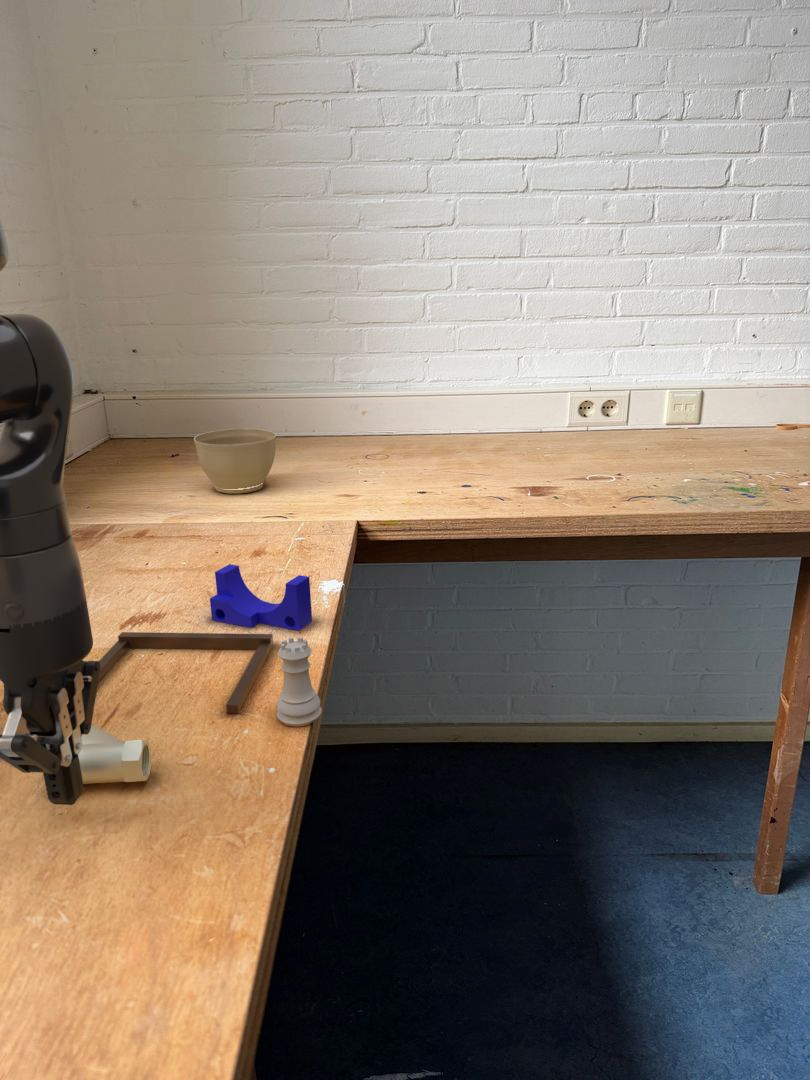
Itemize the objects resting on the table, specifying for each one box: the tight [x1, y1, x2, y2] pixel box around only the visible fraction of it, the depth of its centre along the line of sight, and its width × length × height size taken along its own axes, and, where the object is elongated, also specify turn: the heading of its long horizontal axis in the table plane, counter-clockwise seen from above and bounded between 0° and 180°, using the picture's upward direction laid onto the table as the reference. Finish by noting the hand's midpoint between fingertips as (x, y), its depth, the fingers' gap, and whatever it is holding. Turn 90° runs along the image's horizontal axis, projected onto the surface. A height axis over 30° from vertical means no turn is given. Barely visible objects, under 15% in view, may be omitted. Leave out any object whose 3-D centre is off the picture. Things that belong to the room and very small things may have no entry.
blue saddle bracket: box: [209, 563, 313, 632], centre depth 99 cm, size 12×4×6 cm, turn 65°
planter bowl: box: [193, 428, 277, 494], centre depth 161 cm, size 16×16×11 cm
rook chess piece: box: [275, 636, 323, 727], centre depth 77 cm, size 4×4×8 cm
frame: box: [98, 631, 274, 714], centre depth 87 cm, size 18×15×2 cm
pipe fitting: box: [78, 724, 152, 785], centre depth 70 cm, size 8×4×7 cm
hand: (67, 799), depth 64 cm, fingers closed
